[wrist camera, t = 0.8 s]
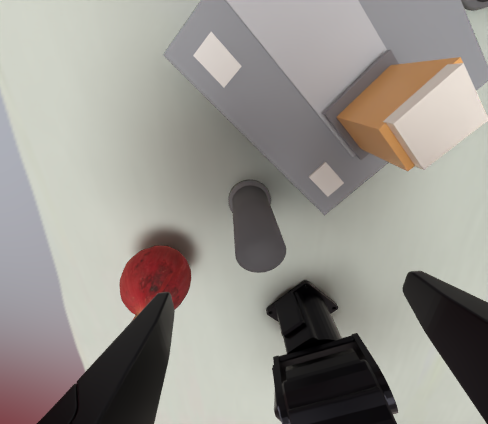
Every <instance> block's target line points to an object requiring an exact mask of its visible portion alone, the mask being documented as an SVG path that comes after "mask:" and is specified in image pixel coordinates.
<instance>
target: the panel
mask: <svg viewBox="0 0 488 424" xmlns="http://www.w3.org/2000/svg"><path fill="white" fill-rule="evenodd" d="M386 50H391V51H392V53H393V54H394V56H395V58H396V60H397V61H398V63H399V64H405V63H414V62H422V61H431V60H440V59H448V58H457V57H461V59H462V61H463V63H464V65H465V67H466V70H467V72H468V74H469V76H470V78H471V81H472V83H473V85H474V87H475V89H476V90H478V89H479V88H480V87H481V86H482V85H484V84H485V83H486V82H487V81H488V65H487V63H486V61H485V58H484V56H483V53H482V51H481V48H480V46H479V43H478V41H477V38H476V36H475V33H474V31H473V29H472V26H471V24H470V21H469V19H468V16H467V14H466V11H465V9H464V6H463V4H462V2H461V0H201V1H200V2H199V4H198V5H197V7H196V8H195V9H194V11H193V12H192V14H191V15H190V17H189V18H188V19H187V21H186V22H185V24H184V25H183V27H182V28H181V29H180V31H179V32H178V34H177V35H176V37H175V38H174V39H173V41H172V42H171V44H170V45H169V47H168V48H167V49H166V51H165V52H164V54H163V55H164V56H165V57H166V58H167V59H168V60H169V61H170V62H171V63H172V64H173V65H174V66H175V67H176V68H177V69H178V70H179V71H180V72H181V73H182V74H183V75H184V76H185V77H186V78H187V79H188V80H189V81H190V82H191V83H192V84H193V85H194V86H195V87H196V88H197V89H198V90H199V91H200V92H201V93H202V94H203V95H204V96H205V97H206V98H207V99H208V100H209V101H210V102H211V103H212V104H213V105H214V106H215V107H216V108H217V109H218V110H219V111H220V112H221V113H222V114H223V115H224V116H225V117H226V118H227V119H228V120H229V121H230V122H231V123H232V124H233V125H234V126H235V127H236V128H237V129H238V130H239V131H240V132H241V133H242V134H243V135H244V136H245V137H246V138H247V139H248V140H249V141H250V142H251V143H252V144H253V145H254V146H255V147H256V148H257V149H258V150H259V151H260V152H261V153H262V154H263V155H264V156H265V157H266V158H267V159H268V160H269V161H270V162H271V163H272V164H273V165H274V166H275V167H276V168H277V169H278V170H279V171H280V172H281V173H282V174H283V175H284V176H285V177H286V178H287V179H288V180H289V181H290V182H291V183H292V184H293V185H294V186H295V187H296V188H297V189H298V190H299V191H300V192H301V193H302V194H303V195H304V196H305V197H306V198H308V199H309V200H310V201H311V202H312V203H313V204H314V205H315V206H316V207H317V208H318V209H319V210H320V211H321V212H322V213H323V214H324V215H325V214H327V213H328V212H329V211H330V210H331V209H333V208H334V207H335V206H336V205H338V204H339V203H340V202H341V201H342V200H344V199H345V198H346V197H347V196H348V195H350V194H351V193H352V192H353V191H355V190H356V189H357V188H358V187H359V186H361V185H362V184H363V183H364V182H366V181H367V180H368V179H369V178H370V177H372V176H373V175H374V174H375V173H376V172H378V171H379V170H380V169H381V168H383V167H384V166H385V165H386V164H387V163H389V162H387V161H385V160H383V159H381V158H379V157H377V156H375V155H372V154H370V153H369V154H368V155H367V156H366V157H364V158H363V159H362V160H361V159H359V158H358V157H357V156H356V154H355V153H354V152H353V151H352V149H351V148H350V147H349V146H348V144H347V143H346V142H345V141H344V139H343V138H342V137H341V136H340V134H339V133H338V132H337V131H336V129H335V128H334V127H333V125H332V124H331V123H330V122H329V120H328V119H327V118H326V117H325V115H324V114H323V112H324V111H325V110H326V109H327V108H328V107H329V106H330V105H331V104H333V103H334V102H335V101H336V100H337V99H338V98H339V97H340V96H341V95H342V94H343V93H344V92H345V91H346V90H347V89H348V88H349V87H350V86H351V85H352V84H353V83H354V82H355V81H356V80H357V79H358V78H359V77H360V76H361V75H362V74H363V73H364V72H365V71H366V70H367V69H368V68H369V67H370V66H371V65H372V64H373V63H374V62H375V61H376V60H377V59H378V58H379V57H380V56H381V55H382V54H383V53H384V52H385V51H386Z"/></svg>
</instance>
